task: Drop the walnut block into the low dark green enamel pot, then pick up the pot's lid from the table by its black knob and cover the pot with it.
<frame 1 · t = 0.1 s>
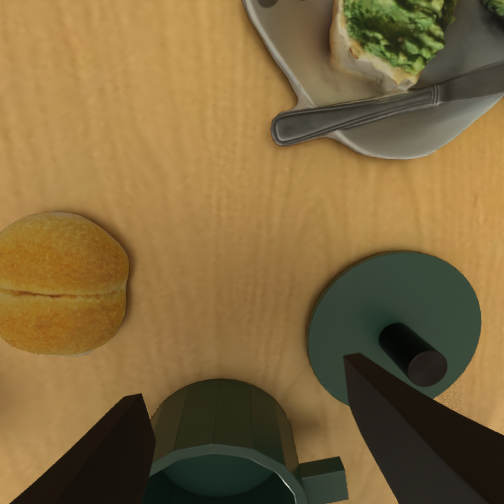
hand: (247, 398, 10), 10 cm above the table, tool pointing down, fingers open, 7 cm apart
lid: (391, 334, 20), point 1 cm above the table
pot: (220, 441, 22), on the table
bread roll: (74, 280, 19), on the table
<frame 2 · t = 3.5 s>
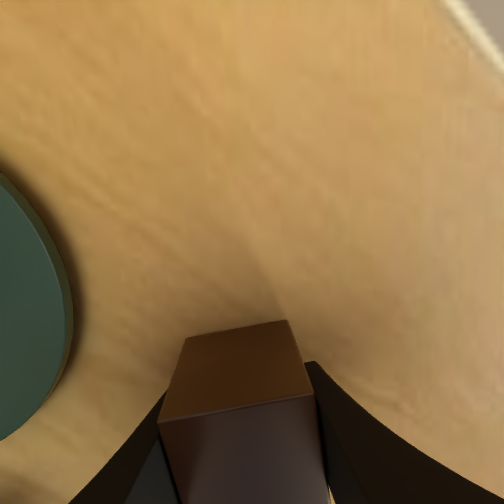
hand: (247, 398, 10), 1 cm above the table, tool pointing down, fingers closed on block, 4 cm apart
block: (245, 373, 11), on the table, touching gripper
when the fingers open (4 cm above the table, at t = 8.7 s): block drops 2 cm, resting on pot.
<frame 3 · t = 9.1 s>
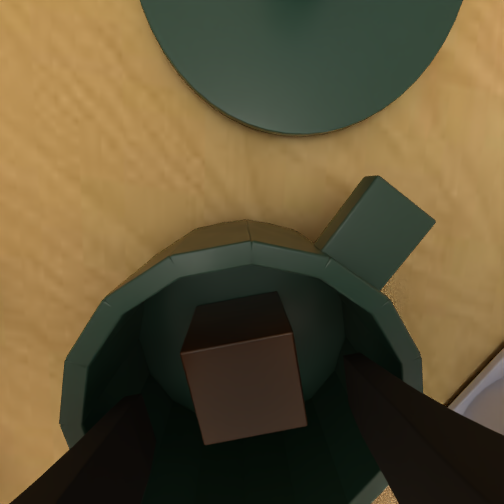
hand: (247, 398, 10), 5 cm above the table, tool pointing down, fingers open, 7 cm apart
pot: (244, 332, 14), on the table
block: (244, 335, 14), resting on pot
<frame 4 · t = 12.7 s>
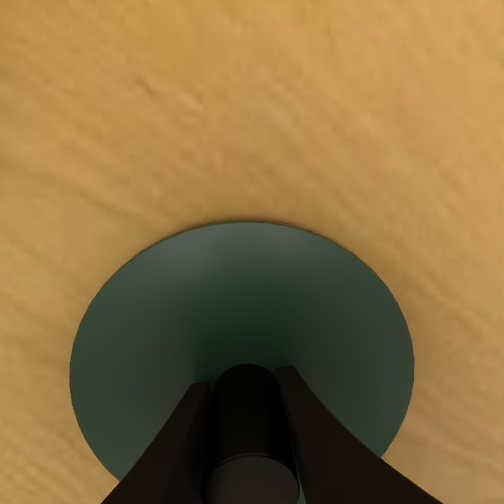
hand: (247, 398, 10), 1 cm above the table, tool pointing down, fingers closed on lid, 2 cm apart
lid: (246, 383, 11), point 1 cm above the table, touching gripper
when the fingers open (6 cm above the table, at t = 17.1 s): lid stays where it is, resting on pot.
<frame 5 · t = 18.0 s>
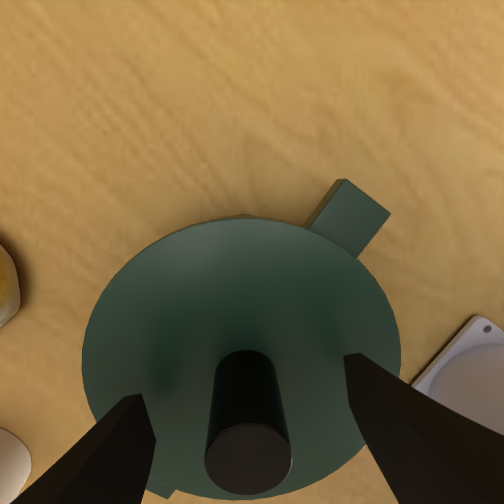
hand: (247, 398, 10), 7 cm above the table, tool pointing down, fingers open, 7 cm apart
lid: (245, 368, 11), point 6 cm above the table, touching pot
pot: (243, 310, 17), on the table
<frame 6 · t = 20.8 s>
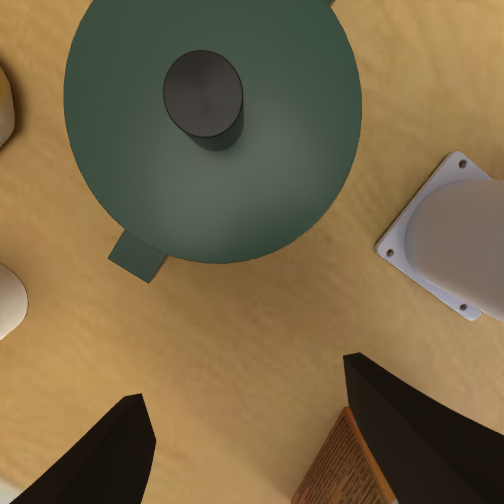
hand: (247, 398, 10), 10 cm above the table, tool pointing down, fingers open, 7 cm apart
lid: (216, 123, 12), point 6 cm above the table, touching pot
milk carton: (371, 472, 24), on the table
pot: (225, 142, 18), on the table
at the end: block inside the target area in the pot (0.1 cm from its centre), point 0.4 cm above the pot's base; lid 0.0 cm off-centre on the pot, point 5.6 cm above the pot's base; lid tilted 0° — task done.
